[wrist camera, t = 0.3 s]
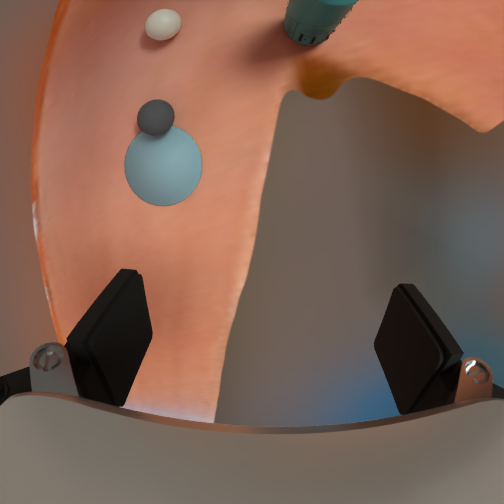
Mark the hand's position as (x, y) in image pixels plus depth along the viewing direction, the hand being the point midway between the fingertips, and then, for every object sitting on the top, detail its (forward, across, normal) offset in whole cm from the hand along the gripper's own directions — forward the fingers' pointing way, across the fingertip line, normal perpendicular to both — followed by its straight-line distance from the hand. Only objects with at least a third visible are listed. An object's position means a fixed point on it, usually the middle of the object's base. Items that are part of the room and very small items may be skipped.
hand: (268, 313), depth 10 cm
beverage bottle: (+31, -5, -22) cm, 38 cm away
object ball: (+28, +14, -8) cm, 32 cm away
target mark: (+31, +14, -1) cm, 34 cm away
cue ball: (+28, +14, -22) cm, 38 cm away
